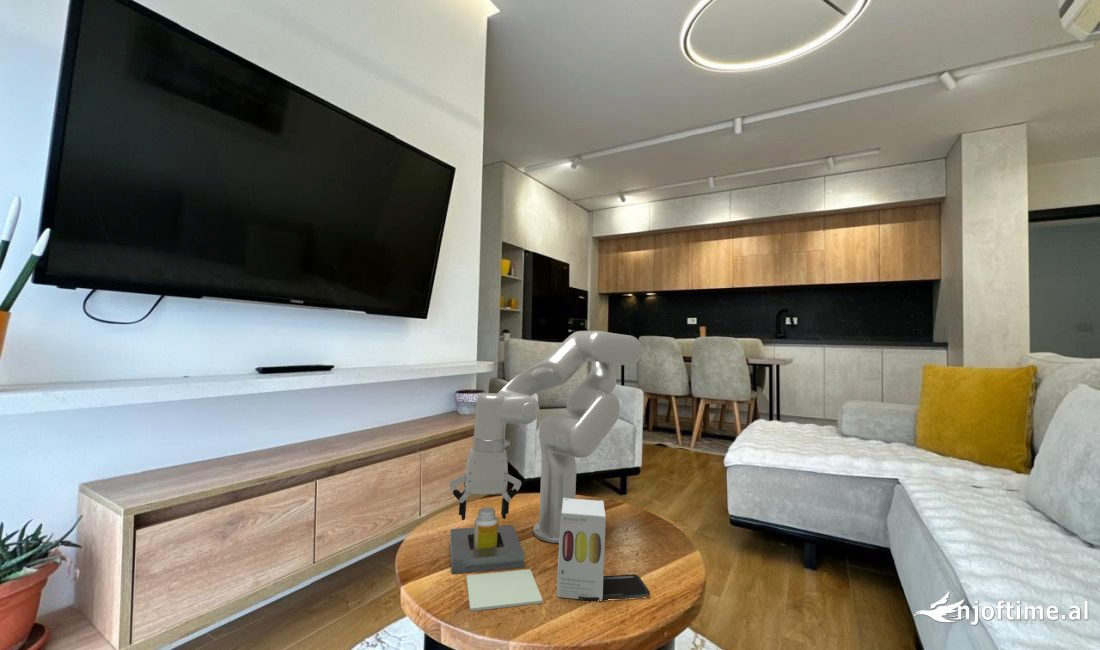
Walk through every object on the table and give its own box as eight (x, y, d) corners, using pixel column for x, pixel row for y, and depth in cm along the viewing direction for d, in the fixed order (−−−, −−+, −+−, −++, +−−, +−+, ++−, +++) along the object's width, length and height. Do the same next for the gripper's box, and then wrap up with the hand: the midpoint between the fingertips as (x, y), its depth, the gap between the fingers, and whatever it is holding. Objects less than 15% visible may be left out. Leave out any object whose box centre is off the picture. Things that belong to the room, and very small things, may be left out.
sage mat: (530, 571, 96) (530, 569, 96) (542, 603, 84) (542, 600, 84) (466, 577, 93) (466, 575, 93) (470, 611, 81) (470, 608, 81)
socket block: (512, 536, 113) (512, 524, 113) (524, 567, 98) (524, 553, 98) (449, 541, 109) (450, 529, 109) (451, 574, 94) (452, 559, 94)
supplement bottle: (501, 555, 103) (502, 511, 104) (480, 561, 100) (482, 516, 100) (488, 546, 107) (490, 504, 108) (468, 552, 104) (470, 509, 104)
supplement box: (556, 598, 86) (559, 512, 87) (558, 574, 95) (561, 496, 96) (604, 602, 86) (606, 515, 86) (601, 577, 95) (604, 499, 96)
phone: (571, 577, 93) (637, 574, 95) (571, 582, 93) (637, 579, 95) (579, 599, 85) (651, 594, 87) (579, 605, 85) (651, 600, 87)
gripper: (520, 442, 110) (516, 510, 109) (451, 441, 106) (446, 512, 105) (526, 448, 103) (521, 522, 102) (452, 448, 99) (446, 524, 98)
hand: (483, 517), depth 103 cm, fingers open, 9 cm apart
